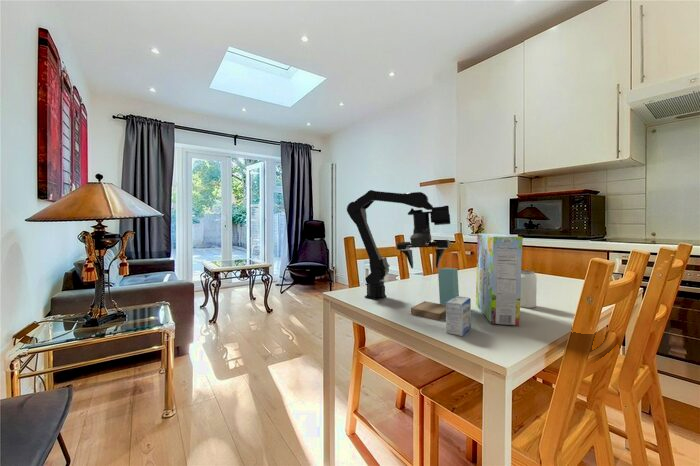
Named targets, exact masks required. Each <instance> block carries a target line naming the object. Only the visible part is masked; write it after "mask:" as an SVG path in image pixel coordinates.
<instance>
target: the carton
mask: <svg viewBox="0 0 700 466" xmlns="http://www.w3.org/2000/svg"><path fill="white" fill-rule="evenodd" d="M458 272H459V271H458V268H454V267H442V268H438V269H437V277H438V291H439V292H438V293H439V304H443V305H446V302H448V301H449V300H451V299H452V298H454V297H455V296H460V293H459V291H460V290H459V288H460V287H459V273H458Z"/></svg>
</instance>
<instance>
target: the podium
mask: <svg viewBox="0 0 700 466" xmlns="http://www.w3.org/2000/svg"><path fill="white" fill-rule="evenodd" d="M410 314H411V315H413V316H414V315H415V316H419V317H421V318H422V317H424V318H427V319H432V320H437V321H441V320H443V319H444V318H445V319H446V305H443V304H440V303H437V302H432V301H426V300H424V301H422V302H420V303H418V304H416V305H414V306H412V307H410Z"/></svg>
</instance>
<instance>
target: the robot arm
mask: <svg viewBox="0 0 700 466" xmlns="http://www.w3.org/2000/svg"><path fill="white" fill-rule="evenodd" d="M376 201H377V202H378V201H379V202H386V203H396V204H403V205H407V206H410V207H412V208H410V210H409V211H408V212H407V215H408V216H413V217H412V218H413V231H412V232H413V233H412V234H411V236H410V238H409V239H410V241H399V242H397V244H396V251H397V250H399V251H400V253H403V254H404V255H405V257H406V259H407V261H408V264H409V266H410V269H414V258H413V257H414V256H413V250H412V249H415V248H434V247H436V248H435V267H436V269H439V264H440V262H441V259H442V255H443V253H444V251H446V250H447V249H448V248H451V241H450V240H449V239H437V240H435V241H432V234H431V227H430V226H431V225H430V222H431V224H434V226H440V225H441V226H442V225H451V214H450V208H449V205H443V206H433V204H431V203H430V202H429V197H428V195H427V194H425V193H424V192H421V191H415V192H407V193H406V192H405V193H404V192H403V193H401V192H389V191H388V192H387V191H378V190H377V191H376V190H374V189H371V190H370V189H369V190H368V191H366V193H365V194H363V195H362V196H360V197H359V198H357V199H356V200H355V201H351V202H349V203H348V204H347V206H346V212H347V214H348V216H349V218H350V219H351V220H352V221H353V223H354V224H355V226H356V227H357V230H358V233H359V236H360V238H361V240H362V243H363V246H364V248H365V250H366V253H367V256H368V260H369V262H368V263H369V270H370V273H369V274H368V275H367V276H366V277H365V278H364V279H365V282H366V295H364V298H366V299H373V300H376V301H377V300H381V299H382V298H383V299H384V298H386V297H387V294H386V286H385V281H383V280H384V279H385V277H387V275H389V273H390V264H389V262H388V259H387V257H386V256H385V257H382V255H381V254H380V251H379V249H378V247H377V245H376V242H375V239H374V237H373V234H372V231H371V228H370V226H369V224H368V219H367V218H368V217H367V209H368V208H369V207H371V205H373V203H375V202H376ZM413 207H414V208H416V209H414V208H413ZM423 209H425V210H428V211H423Z"/></svg>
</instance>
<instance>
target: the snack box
mask: <svg viewBox="0 0 700 466" xmlns="http://www.w3.org/2000/svg"><path fill="white" fill-rule="evenodd" d="M476 239H477V242H476V243H477V246H476V247H477V248H476V286H475V287H476V288H475V289H476V292H475V293H476V295H475V305H476V306H477V307H478V309H479V310H480V311H481V313H482V314H483V315H484V317H486V318H487V320H488V322H490V324H492V325H503V326H518V327H519V326H520V319H521V317H520V316H521V307H520V295H521V270H522V258H523V257H522V256H523V241H524V240H523V239H524V237H523V236H517V235H516V236H515V235H512V234H502V233H501V234H499V233H477V238H476Z"/></svg>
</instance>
